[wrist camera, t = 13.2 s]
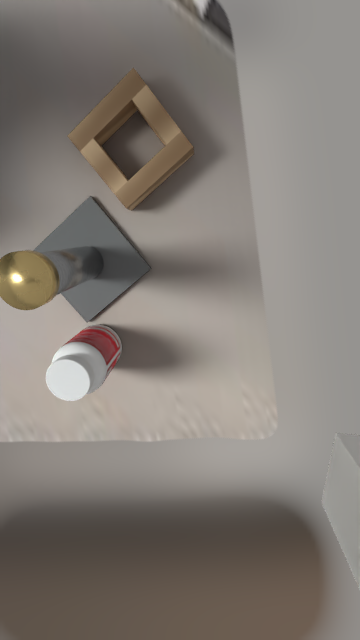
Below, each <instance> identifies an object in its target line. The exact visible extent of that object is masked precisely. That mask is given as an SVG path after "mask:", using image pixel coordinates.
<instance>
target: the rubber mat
mask: <svg viewBox="0 0 360 640" xmlns="http://www.w3.org/2000/svg"><path fill="white" fill-rule="evenodd" d="M83 246H90V247H93V248H95V249H96V250H98V251H99V252H100V254H101V255H102V257H103V261H104V267H103V270H102V272H101V273H100V274H99V275H98V276H97V277H95V278H93V279H91V280H88V281H86V282H84V283H82V284H79V285H77V286H75V287H73V288H71V289H68V290H66V291H64V292H62V293H61V294H62V295H63V296H64V297H65V298H66V300H67V301H68V302H69V303H70V304H71V305H72V306H73V307H74V308H75V310H76V311H77V312H78V313H79V314H80V315H81V316H82V317H83V319H84V320H85V321H86V322H88V321H90V320H91V319H92V318H93V317H94V316H96V315H97V314H98V313H99V312H100V311H101V310H103V309H104V308H105V307H106V306H107V305H109V304H110V303H111V302H112V301H113V300H114V299H116V298H117V297H118V296H119V295H120V294H121V293H123V292H124V291H125V290H126V289H127V288H129V287H130V286H131V285H132V284H133V283H134V282H136V281H137V280H138V279H139V278H140V277H142V276H143V275H144V274H145V273H146V272H147V271H149V270H150V269H151V267H150V266H149V265H148V264H147V263H146V261H145V260H144V259H143V258H142V257H141V255H140V254H139V253H138V252H137V251H136V249H135V248H134V247H133V246H132V245H131V243H130V242H129V241H128V240H127V239H126V237H125V236H124V235H123V234H122V233H121V231H120V230H119V229H118V228H117V227H116V225H115V224H114V223H113V222H112V221H111V219H110V218H109V217H108V216H107V215H106V213H105V212H104V211H103V210H102V209H101V207H100V206H99V205H98V204H97V202H96V201H95V200H94V199H93V198H92V197H91V196H90V197H89V198H88V199H87V200H86V201H85V202H84V203H82V204H81V205H80V206H79V207H78V208H77V209H76V210H75V211H74V212H73V213H72V214H71V215H70V216H69V217H68V218H67V219H66V220H65V221H64V222H63V223H62V224H61V225H60V226H58V227H57V228H56V229H55V230H54V231H53V232H52V233H51V234H50V235H49V236H48V237H47V238H46V239H45V240H44V241H43V242H42V243H41V244H40V245H39V246H38V247H37V248H36V249H34V250H33V251H37V252H47V251H54V250H62V249H69V248H76V247H83Z"/></svg>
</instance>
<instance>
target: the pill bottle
mask: <svg viewBox="0 0 360 640" xmlns="http://www.w3.org/2000/svg"><path fill="white" fill-rule="evenodd" d="M121 352H122V344H121V341H120V338H119V336H118V335H117V333H116V332H115V331H113V330H112V329H111V328H109V327H107V326H104V325H92V326H89V327H87V328H85V329H84V330H82V331H81V332H80V333H78V334H77V335H76V336H75V337H73V338H72V339H71V340H70V341H68V342H67V343H66V344H65V345H63V346H62V347H61V348H60V349H59V350H58V351H57V352H56V354H55V355H54V357H53V360H52V364H51V365H50V367H49V368H48V370H47V373H46V382H47V385H48V388H49V389H50V391H51V392H52V393H53V394H54V395H55V396H57V397H58V398H60V399H63V400H66V401H76V400H79V399H81V398H83V397H84V396H85V395H86V394H89V393H92V392H94V391H95V390H97V389H98V388H99V387H100V386H101V385H102V384H103V382H104V381H105V379H106V378H107V376H108V375H109V373H110V372H111V370H112V369H113V367H114V366H115V364H116V363H117V361H118V360H119V358H120V356H121Z"/></svg>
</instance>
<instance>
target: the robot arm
mask: <svg viewBox="0 0 360 640" xmlns="http://www.w3.org/2000/svg"><path fill="white" fill-rule="evenodd" d="M322 505H323V507H324V510H325V511H326V514H327V516H328V519H329V521H330V523H331V525H332V528H333V530H334V532H335V535H336V537H337V539H338V541H339V543H340V546H341V548H342V550H343V553H344V555H345V557H346V560H347V561H348V564H349V566H350V569H351V571H352V573H353V575H354V578H355V580H356V582H357V584H358V587H359V589H360V435H353V434H343V433H336V434H335V439H334V443H333V448H332V453H331V458H330V463H329V468H328V473H327V478H326V483H325V487H324V492H323V498H322Z"/></svg>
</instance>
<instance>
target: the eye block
mask: <svg viewBox="0 0 360 640" xmlns="http://www.w3.org/2000/svg"><path fill="white" fill-rule="evenodd" d="M137 110H138V112H139V113H140V114H141V115H142V117H143V118H144V119H145V121H146V122H147V123H148V125H149V126H150V127H151V129H152V130H153V131H154V132H155V134H156V135H157V136H158V138H159V139H160V140H161V142H162V143H163V144H164V145H165V147H164V148H163V149H161V150H160V151H159V152H158V153H157V154H156V155H155V156H154V157H153V158H152V159H151V160H150V161H149V162H148V163H147V164H146V165H144V166H143V167H142V168H141V169H140V170H139V171H138V172H137V173H136V174H135V175H134V176H133V177H132V178H131V179H130V180H128V178H127V177H126V176H125V175H124V173H123V172H122V171H121V170H120V168H119V167H118V166H117V165H116V163H115V162H114V161H113V160H112V158H111V157H110V156H109V155H108V153H107V152H106V151H105V150H104V148H103V147H102V145H103V144H104V143H105V142H106V141H107V140H108V139H109V138H110V137H111V136H112V135H113V134H114V133H115V132H116V131H117V130H118V129H119V128H120V127H121V126H122V125H123V124H124V123H125V122H126V121H127V120H128V119H129V118H130V117H131V116H132V115H133V114H134V113H135V112H136V111H137ZM68 138H69V139H70V140H71V141H72V143H73V144H74V145H75V146H76V147H77V149H78V150H79V151H80V152H81V154H82V155H83V156H84V157H85V158H86V160H87V161H88V162H89V163H90V165H91V166H92V167H93V168H94V169H95V171H96V172H97V173H98V174H99V176H100V177H101V178H102V179H103V180H104V182H105V183H106V184H107V185H108V187H109V188H110V189H111V190H112V191H113V193H114V194H115V195H116V196H117V198H118V199H119V200H120V201H121V203H122V204H123V205H124V206H125V207H126V208H127V209H129V210H133V209H134V208H135V207H136V206H137V205H139V204H140V203H141V202H142V201H143V200H144V199H145V198H146V197H147V196H148V195H149V194H151V193H152V192H153V191H154V190H155V189H156V188H157V187H158V186H159V185H160V184H162V183H163V182H164V181H165V180H166V179H167V178H168V177H169V176H170V175H171V174H173V173H174V172H175V171H176V170H177V169H178V168H179V167H180V166H181V165H182V164H183V163H185V162H186V161H187V160H188V159H189V158H190V157H191V156H192V155H193V154H194V150H193V146H192V145H191V143H190V142H189V141H188V139H187V138H186V137H185V135H184V134H183V133H182V131H181V130H180V129H179V127H178V126H177V125H176V123H175V122H174V121H173V119H172V118H171V117H170V115H169V114H168V113H167V111H166V110H165V109H164V107H163V106H162V105H161V103H160V102H159V101H158V99H157V98H156V97H155V95H154V94H153V93H152V92H151V90H150V89H149V88H148V86H147V85H146V84H145V82H144V81H143V80H142V78H141V77H140V76H139V74H138V73H137V72H136V70H135V69H134V68H133V69H132V70H131V71H130V72H129V73H128V74H127V75H126V76H125V77H124V78H123V79H122V80H121V81H120V82H119V83H118V84H117V85H116V86H115V87H114V88H113V89H112V90H111V91H110V92H109V93H108V94H107V95H106V96H105V97H104V98H103V100H102V101H101V102H100V103H99V104H98V105H97V106H96V107H95V108H94V109H93V110H92V111H91V112H90V113H89V114H88V115H87V116H86V117H85V118H84V119H83V120H82V121H81V122H80V123H79V124H78V125H77V126H76V127H75V128H74V129H73V130H72V132H71V133H70V134H69V135H68Z"/></svg>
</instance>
